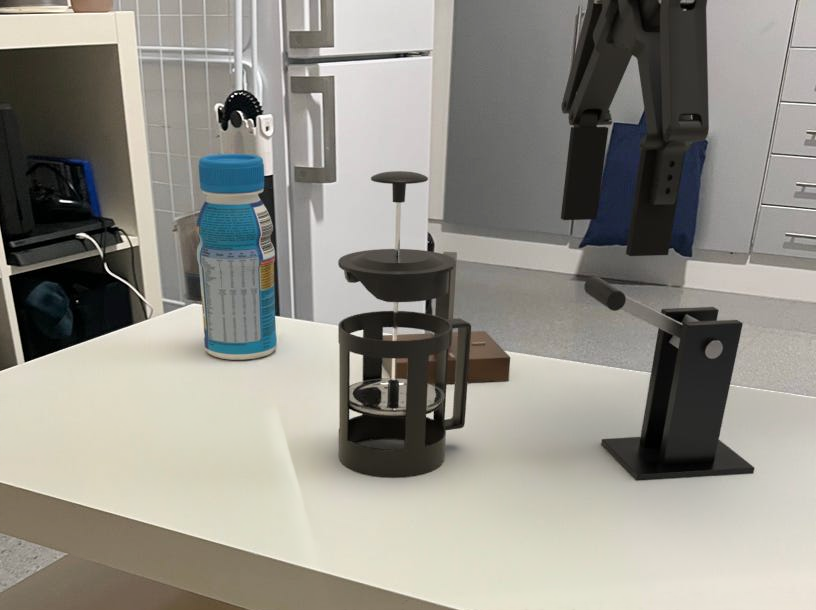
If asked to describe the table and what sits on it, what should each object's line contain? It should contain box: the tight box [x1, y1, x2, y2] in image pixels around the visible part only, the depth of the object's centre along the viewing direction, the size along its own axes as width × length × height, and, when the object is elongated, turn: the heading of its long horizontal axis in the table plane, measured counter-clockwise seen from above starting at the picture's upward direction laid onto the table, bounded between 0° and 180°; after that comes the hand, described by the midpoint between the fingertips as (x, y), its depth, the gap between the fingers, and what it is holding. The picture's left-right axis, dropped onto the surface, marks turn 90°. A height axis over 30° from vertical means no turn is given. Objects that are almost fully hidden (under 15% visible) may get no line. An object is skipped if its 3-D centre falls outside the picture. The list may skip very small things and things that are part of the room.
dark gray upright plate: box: [433, 251, 458, 340], centre depth 105 cm, size 5×1×9 cm, turn 168°
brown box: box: [382, 330, 511, 385], centre depth 109 cm, size 12×10×3 cm
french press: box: [337, 170, 472, 479], centre depth 80 cm, size 12×9×23 cm
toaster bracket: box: [600, 306, 756, 482], centre depth 82 cm, size 10×8×13 cm
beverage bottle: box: [195, 153, 278, 361], centre depth 110 cm, size 8×8×20 cm
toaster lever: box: [583, 275, 699, 348], centre depth 78 cm, size 11×5×2 cm, turn 98°
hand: (610, 236), depth 75 cm, fingers open, 13 cm apart
